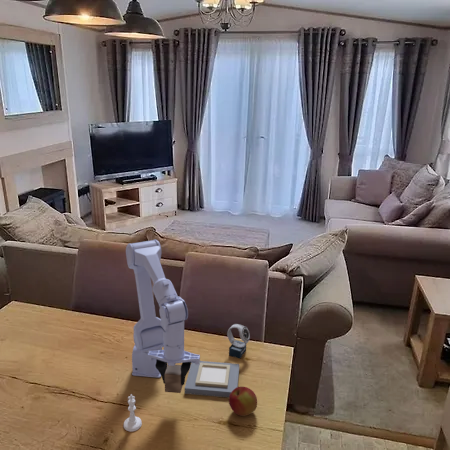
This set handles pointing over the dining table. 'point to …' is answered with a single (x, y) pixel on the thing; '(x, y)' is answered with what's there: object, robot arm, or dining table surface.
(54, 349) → the dining table surface
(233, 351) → the watch
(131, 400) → the chess piece
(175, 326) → the robot arm
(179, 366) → the walnut block
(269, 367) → the dining table surface
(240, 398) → the apple
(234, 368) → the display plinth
